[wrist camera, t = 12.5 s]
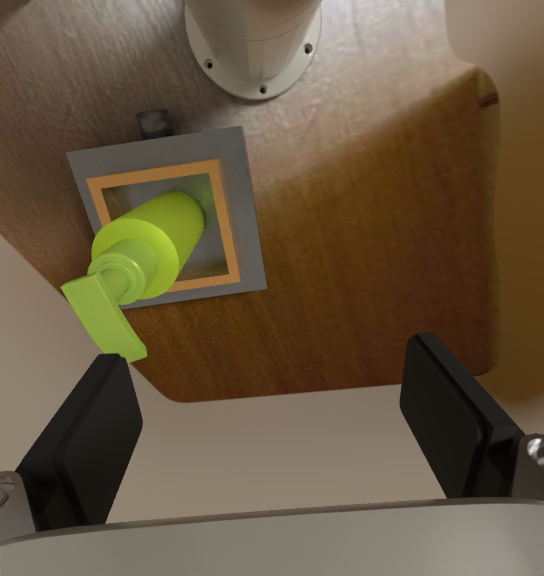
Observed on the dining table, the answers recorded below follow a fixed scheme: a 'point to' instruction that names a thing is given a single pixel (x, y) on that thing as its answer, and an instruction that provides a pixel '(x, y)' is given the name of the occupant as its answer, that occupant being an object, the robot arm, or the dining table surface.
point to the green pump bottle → (134, 268)
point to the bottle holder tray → (192, 181)
